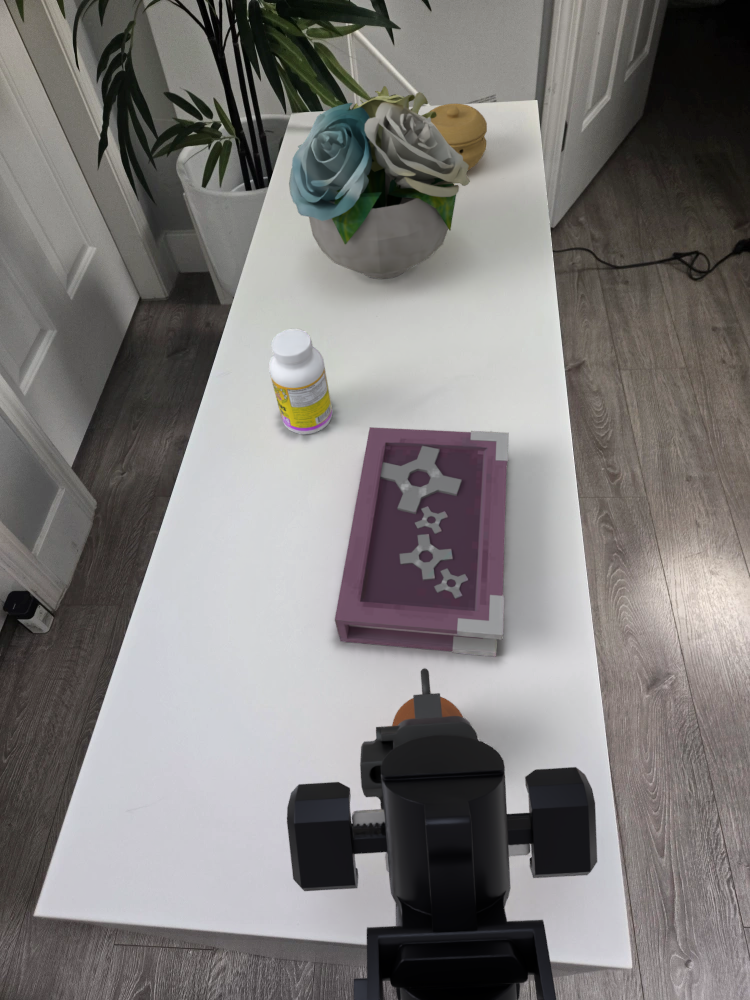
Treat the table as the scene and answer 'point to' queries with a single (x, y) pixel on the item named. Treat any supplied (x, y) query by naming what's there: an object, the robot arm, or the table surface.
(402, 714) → the soap bottle
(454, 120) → the pot
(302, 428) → the supplement bottle
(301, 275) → the table surface
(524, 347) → the table surface
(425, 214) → the flower arrangement
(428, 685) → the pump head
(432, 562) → the book
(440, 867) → the robot arm
